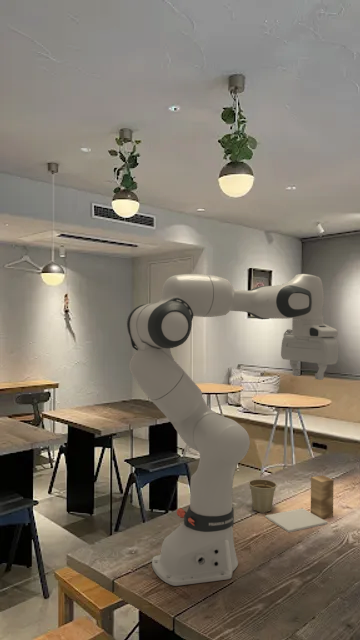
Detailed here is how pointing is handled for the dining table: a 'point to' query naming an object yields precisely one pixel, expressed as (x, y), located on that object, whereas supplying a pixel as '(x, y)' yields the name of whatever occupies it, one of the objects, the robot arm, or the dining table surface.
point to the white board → (296, 520)
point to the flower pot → (262, 494)
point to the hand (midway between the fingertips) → (307, 377)
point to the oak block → (322, 496)
